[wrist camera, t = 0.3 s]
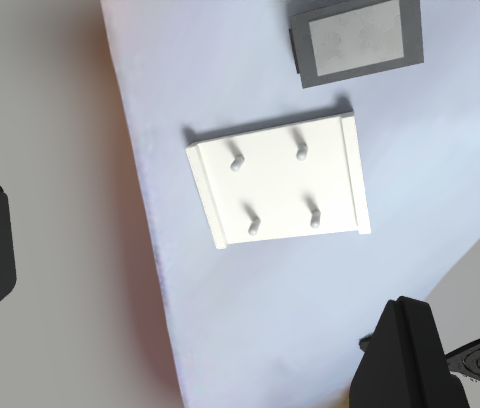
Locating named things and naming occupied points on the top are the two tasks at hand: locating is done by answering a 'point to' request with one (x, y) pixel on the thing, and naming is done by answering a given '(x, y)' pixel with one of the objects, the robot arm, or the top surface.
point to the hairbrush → (456, 358)
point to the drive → (356, 39)
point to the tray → (282, 181)
